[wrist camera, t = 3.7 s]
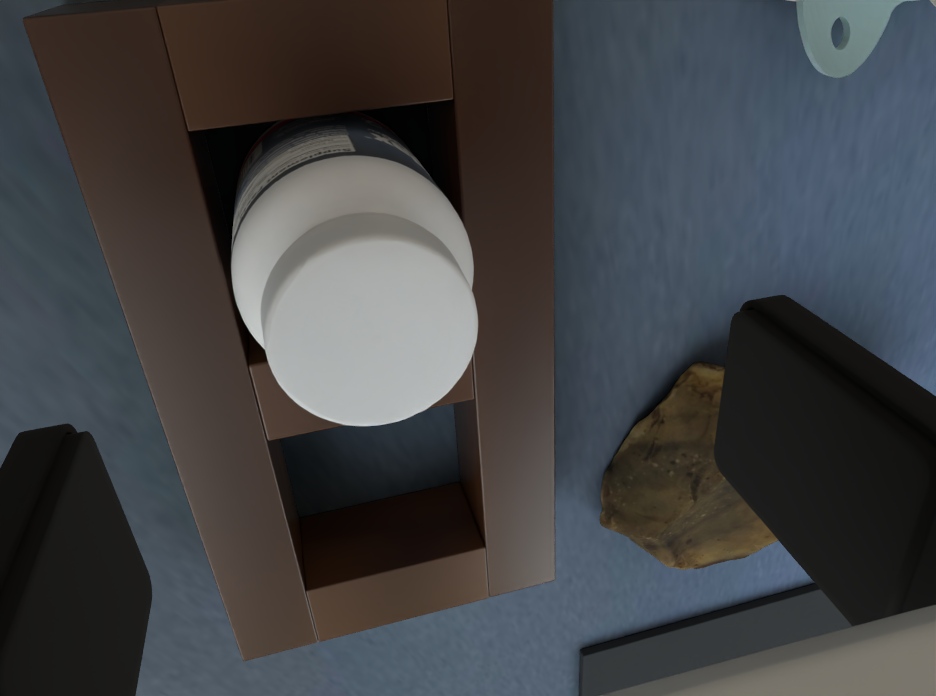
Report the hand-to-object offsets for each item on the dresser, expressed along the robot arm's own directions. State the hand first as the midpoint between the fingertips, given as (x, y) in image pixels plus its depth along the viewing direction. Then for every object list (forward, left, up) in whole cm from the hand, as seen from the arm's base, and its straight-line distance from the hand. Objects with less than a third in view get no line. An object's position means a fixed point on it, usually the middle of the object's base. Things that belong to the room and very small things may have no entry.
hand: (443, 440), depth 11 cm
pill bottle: (0, 0, -12) cm, 12 cm away
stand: (0, -4, -12) cm, 13 cm away
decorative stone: (+13, -13, -12) cm, 22 cm away
